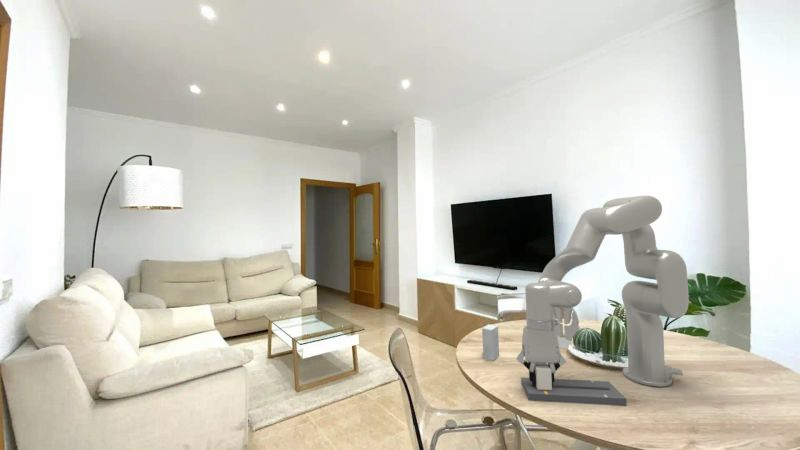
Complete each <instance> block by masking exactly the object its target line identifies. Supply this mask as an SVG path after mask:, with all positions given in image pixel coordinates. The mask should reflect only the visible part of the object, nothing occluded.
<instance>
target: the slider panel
mask: <svg viewBox="0 0 800 450" xmlns="http://www.w3.org/2000/svg"><path fill="white" fill-rule="evenodd" d="M520 379H521V381H520V382H521V383H520V384H521V386H522V388H523V391H524V393H525V395H526V397H527V399H528V401H534V402H551V403H553V402H555V403H571V404H572V403H573V404H589V405H602V406H603V405H607V406H608V405H609V406H623V407H627V405H628V404H627V403H628V401H627V399H628V398H627V397H625V396H624V395H623V394H622V392H621V391H619V390H618V389H617V388H616V387H615V386H614V385H613V384H612V383H611V382H610V381H608V380H592V379H591V380H588V379H569V378H568V379H567V378H566V379H565V378H554V382H553V386H552V390H538V389H537V387H536V385H533V384H532V382H531V381H530V380H529V377H526V376H525V377H523V376H521V377H520Z"/></svg>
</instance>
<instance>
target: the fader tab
mask: <svg viewBox="0 0 800 450" xmlns="http://www.w3.org/2000/svg"><path fill="white" fill-rule="evenodd" d="M534 371H535V373H536V387H537V389H538V390H552V377H551V369H550V367H549V365H548V363H536V362H535V366H534Z"/></svg>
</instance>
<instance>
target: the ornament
mask: <svg viewBox="0 0 800 450" xmlns="http://www.w3.org/2000/svg"><path fill="white" fill-rule="evenodd" d="M563 309H564V311H563V310H562V308H560V307H553V319H554V320H557V321H558V325H554V328H555V330H556V333H557V338H558V343H559V349H563V350H565V349H566V350H569V349H568V346H569V344H570V343H571V341H572V338H573V335H574V333H575V332H577V331H579V330H581V331H582V329H581V327H580V325H579V323H580V320H579V317H578V316H579V315H578V312H577V311H576V310H575V308H574V307H572V308H563ZM571 315H572V316H571ZM570 323H571V324H570ZM563 324H564V325H563ZM563 326H564V327H563ZM563 328H564V330H563ZM563 333H564V334H563ZM563 335H564V337H563Z"/></svg>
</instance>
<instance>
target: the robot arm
mask: <svg viewBox="0 0 800 450" xmlns="http://www.w3.org/2000/svg"><path fill="white" fill-rule="evenodd" d="M662 212H663V206H662V202H661V201H660V200H659V199H658V198H656V197H655V196H651V195H637V196H630V197H619V198H614V199H610V200H608V201H606V202H604V204H603V205H602V207H593V208H589V209H587V210H585V211H584V212H583V213H582V214H581V216H579V220H578V221H577V223H576V225H575V227H574V230H573V232H572V234H571V235H570V237H569V240H568V243H567V244H566V246H565V248H564V249H563V250H562V251H560V252H559V253H558V254H557V255H556V256H554V257H553V258H552V259H551V260H550V261H549V262H548V263H547V264H546V265H545V267H544V269H543V271H542V272H541V274H540V276H539V279H538V282H530V283H527V284H526V286H525V293H524V294H525V312H526V313H525V319H526V325H524V327H523V328H522V329H523V330H522V339H521V340H522V341H521V343H522V344H521V351H520V353H519V354H518V355H517V357H516V360H517V361H518V363H520V364H521V365H523V366H524V367H525V368H526V369H527V370H528V378H529V380H530V381H531V382H532V384H533V385H536V373H535V371H534V366H535V362H536V363H547V365H549V367H550V369H551V377H552V386H553V382H554V379H555V374H556V371H557V370H558V369H560V367H561V366H564V365H565V364H566V363H567V360H566V359H565V358H564V356H563V355H562V354H561V352H560V348H559V343H558V338H557V333H556V330H555V328H554V325H558V322H559V321H558V320H557V319H556V320H554V319H553V307H559V308H561V309H564V308H572V307H573V308H574V307H577V306H578V305H580V303H581V301H582V299H583V297H582V296H583V295H582V292H581V290H580V289H579V288H578V286H576V285H574V284H572V283H569V282H565V281H563V279H564V277H565V276H566V275H567V274H568V273H569V272H570V271H571V270H573V269H576V268H577V267H580V266H583V265H586V264H588V263H591V262H592V261H594V259H595V258H596V257H597V254H598V252H599V249H600V247H601V245H602V243H603V240H604V239H605V237H606V236H608V235H615V236H617V235H621V236H622V240H623V251H624V252H623V253H624V263H625V264H624V266H625V269H626V272H627V273H628V274H629V275H631V276H634V277H635V278H636V277H637V278H641V279H649V280H655V281H656V283H655V282H651V281H644V280H632V281H629V282H626V283H625V284H624V286H623V287H622V289H621V290H622V291H621V299H622V302H623V306H624V310H625V319H626V342H627V343H626V344H627V345H626V346H627V366H628V367H627V366H625V367H624V368H622V373H623V375H624V376H625V377H626V378H627V379H629V380H631V381H633V382H635V383H638V384H641V385H645V386H649V387H659V388H660V387H661V388H664V387H668V386H671V385H672V381H673V380H672V378H671V376H672V375H673V376H683V373H684V372H683V370H682V369H681V368H673V366H671V365H666V364H665V342H664V341H665V340H664V325H663V322H662V319H661V317H660V316H662V317H666V318H670V319H677V318H678V319H679V318H682V317H683V316H684V315H685V314H686V313H687V311H688V310H689V302H690V298H689V296H690V295H689V283H688V282H689V281H688V270H687V264H686V262H685V259H684V258H683V257H682V256H681V255H680V254H679V253H677V252H675V251H673V250H667V249H658V248H657V240H656V236H655V235H656V234H655V232H654V229H653V227H652V226H651V225H650V224H653V223H654V222H656V221H657V220H659V218H660V217H661V215H662Z"/></svg>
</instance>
